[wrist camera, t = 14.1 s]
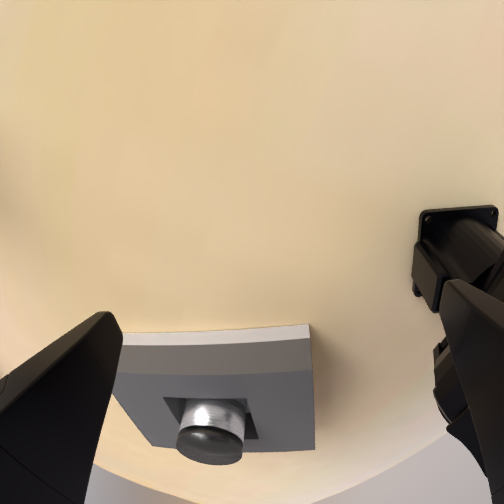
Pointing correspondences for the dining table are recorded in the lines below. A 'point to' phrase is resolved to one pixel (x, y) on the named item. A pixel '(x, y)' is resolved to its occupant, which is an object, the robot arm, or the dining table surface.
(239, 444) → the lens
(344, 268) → the dining table surface
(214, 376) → the grey plate with pocket
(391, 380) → the dining table surface
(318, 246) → the dining table surface
